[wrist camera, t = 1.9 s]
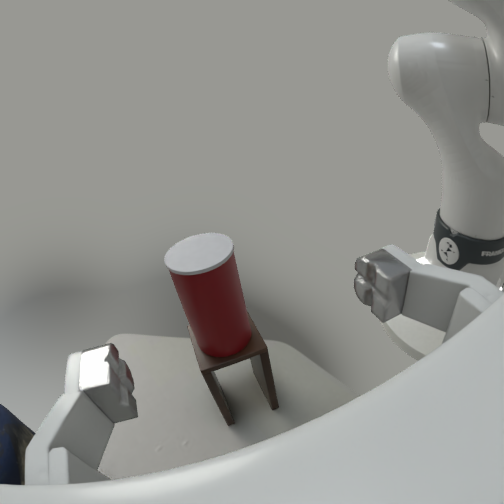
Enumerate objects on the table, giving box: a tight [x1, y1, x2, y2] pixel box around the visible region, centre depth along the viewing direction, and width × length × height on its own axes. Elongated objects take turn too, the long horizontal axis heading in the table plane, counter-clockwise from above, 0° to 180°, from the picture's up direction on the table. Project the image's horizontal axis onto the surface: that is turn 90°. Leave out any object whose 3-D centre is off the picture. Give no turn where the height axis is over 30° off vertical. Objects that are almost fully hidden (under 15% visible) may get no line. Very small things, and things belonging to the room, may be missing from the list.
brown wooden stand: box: [187, 312, 279, 426], centre depth 30 cm, size 6×6×11 cm
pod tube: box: [164, 233, 251, 357], centre depth 25 cm, size 5×5×9 cm
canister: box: [0, 404, 35, 485], centre depth 15 cm, size 10×10×18 cm
